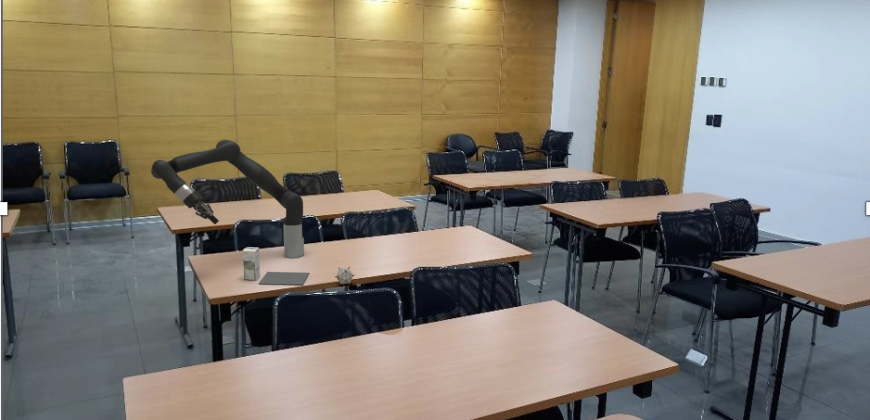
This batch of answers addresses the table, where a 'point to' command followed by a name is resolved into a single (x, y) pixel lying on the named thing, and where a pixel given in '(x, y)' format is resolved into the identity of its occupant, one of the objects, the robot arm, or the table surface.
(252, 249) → the syrup box
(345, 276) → the spiked polyhedron ball
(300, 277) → the mat
